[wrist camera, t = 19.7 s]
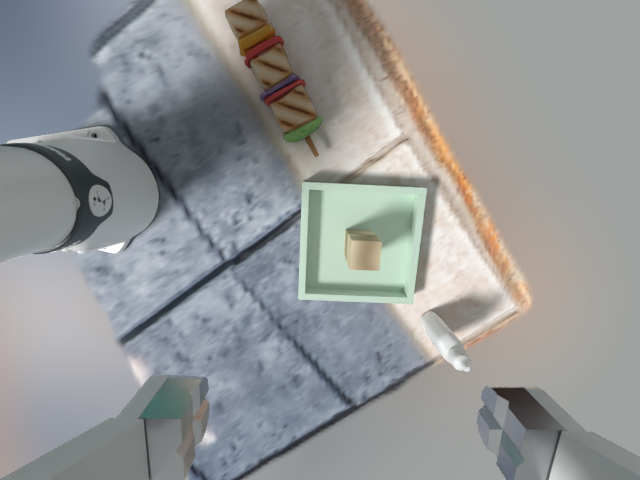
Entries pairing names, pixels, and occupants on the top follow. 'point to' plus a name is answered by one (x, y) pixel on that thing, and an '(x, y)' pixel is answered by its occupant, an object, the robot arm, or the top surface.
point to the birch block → (362, 250)
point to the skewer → (273, 72)
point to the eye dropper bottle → (445, 341)
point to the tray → (361, 214)
